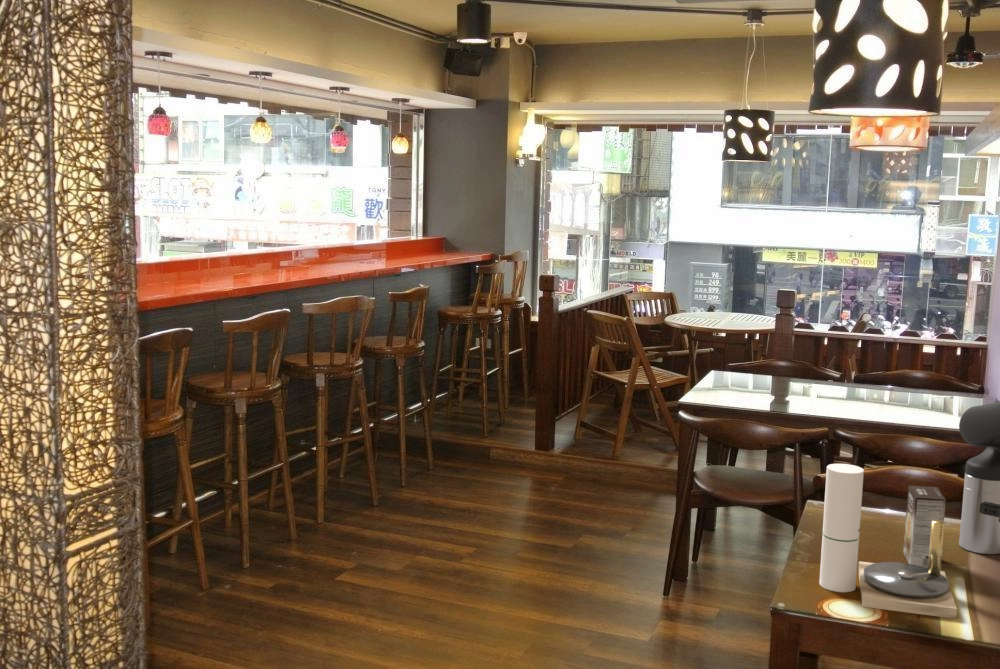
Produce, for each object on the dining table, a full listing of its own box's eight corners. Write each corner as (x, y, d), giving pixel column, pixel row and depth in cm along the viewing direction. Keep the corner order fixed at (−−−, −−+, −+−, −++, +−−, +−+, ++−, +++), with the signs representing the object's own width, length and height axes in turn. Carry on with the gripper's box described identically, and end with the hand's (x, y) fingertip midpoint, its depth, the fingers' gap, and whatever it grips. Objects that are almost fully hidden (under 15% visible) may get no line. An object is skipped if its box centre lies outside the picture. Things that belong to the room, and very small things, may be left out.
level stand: (858, 570, 217) (859, 559, 217) (943, 580, 212) (944, 569, 212) (862, 606, 198) (862, 595, 198) (956, 618, 193) (956, 607, 193)
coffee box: (902, 553, 228) (907, 484, 225) (932, 555, 226) (937, 486, 224) (909, 568, 219) (915, 496, 216) (941, 570, 217) (947, 499, 215)
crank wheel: (898, 602, 195) (903, 541, 193) (847, 571, 210) (850, 515, 208) (967, 593, 200) (972, 534, 198) (911, 564, 215) (915, 508, 213)
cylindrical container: (858, 583, 210) (866, 467, 206) (851, 595, 204) (859, 475, 200) (823, 576, 213) (831, 461, 210) (815, 587, 207) (823, 469, 204)
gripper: (1091, 502, 190) (996, 482, 202) (1066, 516, 181) (968, 494, 193) (1088, 540, 191) (993, 518, 203) (1062, 556, 182) (965, 532, 194)
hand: (981, 507), depth 198 cm, fingers closed
